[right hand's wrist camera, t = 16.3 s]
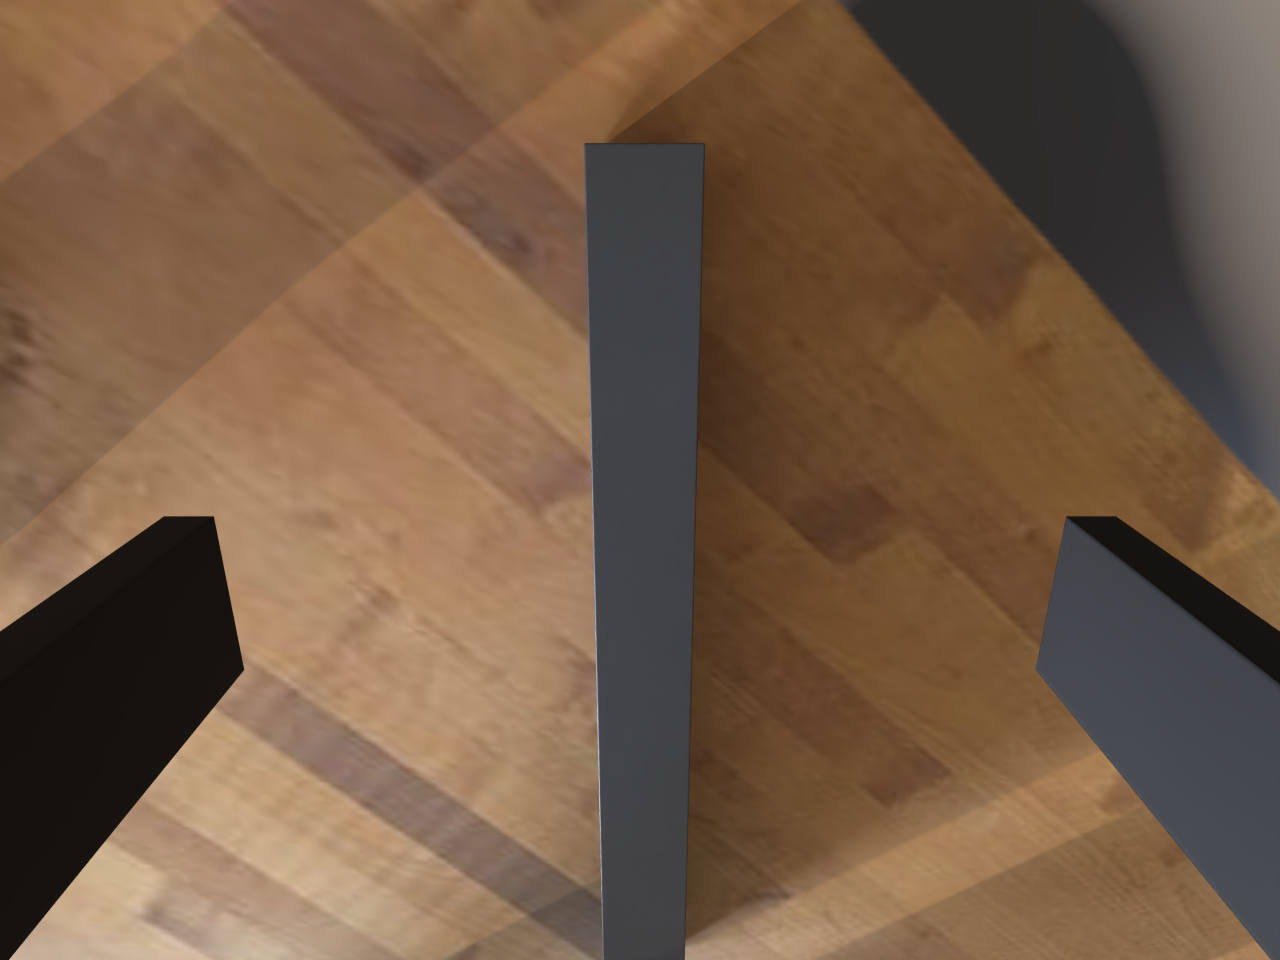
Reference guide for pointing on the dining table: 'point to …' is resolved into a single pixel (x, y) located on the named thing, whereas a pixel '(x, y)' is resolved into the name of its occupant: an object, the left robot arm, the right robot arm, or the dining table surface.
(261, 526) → the dining table surface
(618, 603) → the beam
